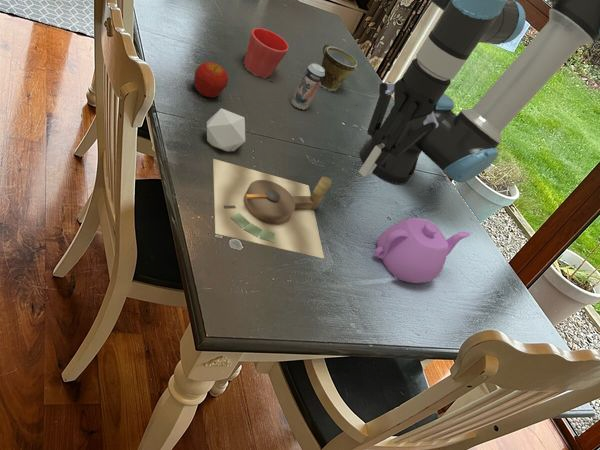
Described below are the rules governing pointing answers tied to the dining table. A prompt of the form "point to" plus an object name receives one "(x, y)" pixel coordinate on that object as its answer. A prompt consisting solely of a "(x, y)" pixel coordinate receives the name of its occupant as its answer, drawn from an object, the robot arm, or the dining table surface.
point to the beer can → (308, 86)
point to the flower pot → (264, 52)
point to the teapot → (415, 249)
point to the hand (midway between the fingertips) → (364, 172)
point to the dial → (280, 200)
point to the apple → (210, 79)
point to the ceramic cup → (336, 67)
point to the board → (245, 226)
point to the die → (226, 130)
